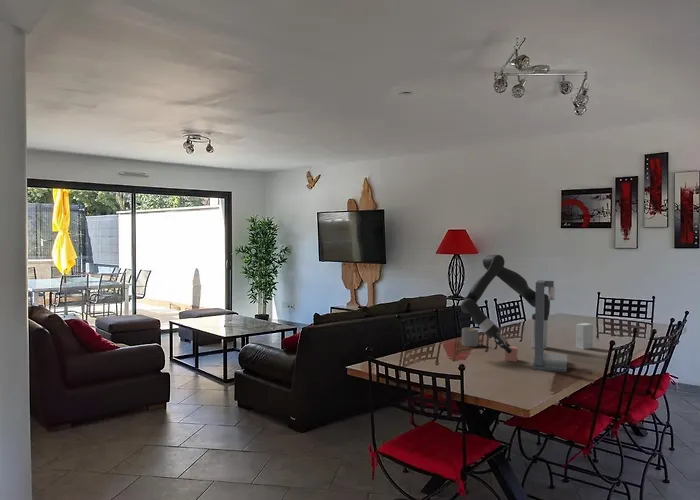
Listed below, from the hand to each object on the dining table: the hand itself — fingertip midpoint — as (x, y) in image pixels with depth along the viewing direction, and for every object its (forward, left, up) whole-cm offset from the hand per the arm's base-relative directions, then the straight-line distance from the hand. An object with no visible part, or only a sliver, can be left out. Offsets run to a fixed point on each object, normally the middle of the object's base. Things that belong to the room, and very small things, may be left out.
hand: (511, 351), depth 284 cm
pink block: (0, 0, -5) cm, 5 cm away
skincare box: (-52, +37, -5) cm, 64 cm away
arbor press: (+4, +20, -5) cm, 21 cm away
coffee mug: (-34, -28, -5) cm, 44 cm away
